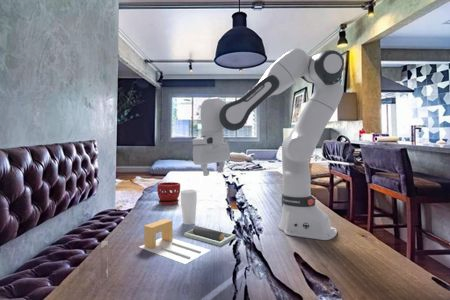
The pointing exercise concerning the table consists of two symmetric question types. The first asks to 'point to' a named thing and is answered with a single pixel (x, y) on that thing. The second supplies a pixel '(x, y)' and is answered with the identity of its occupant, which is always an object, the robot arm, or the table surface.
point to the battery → (208, 233)
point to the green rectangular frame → (229, 235)
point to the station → (177, 250)
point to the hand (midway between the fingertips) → (213, 174)
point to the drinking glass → (188, 206)
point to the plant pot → (168, 193)
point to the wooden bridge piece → (157, 227)
